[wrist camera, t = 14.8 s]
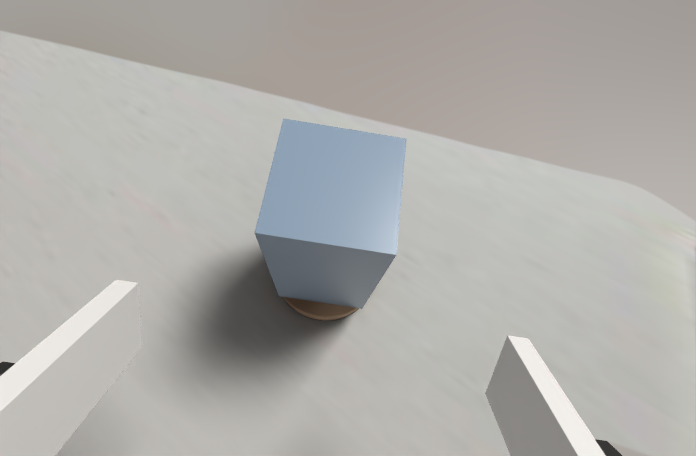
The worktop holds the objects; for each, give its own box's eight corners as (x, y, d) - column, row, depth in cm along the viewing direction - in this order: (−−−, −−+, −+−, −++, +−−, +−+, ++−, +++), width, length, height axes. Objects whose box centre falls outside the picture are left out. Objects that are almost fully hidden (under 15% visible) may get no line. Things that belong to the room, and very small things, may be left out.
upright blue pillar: (278, 295, 27) (254, 233, 16) (294, 220, 29) (283, 118, 18) (361, 308, 27) (396, 254, 16) (370, 232, 29) (406, 138, 18)
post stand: (253, 276, 29) (233, 239, 22) (319, 205, 32) (321, 151, 24) (334, 342, 28) (342, 327, 20) (395, 262, 30) (421, 223, 23)
